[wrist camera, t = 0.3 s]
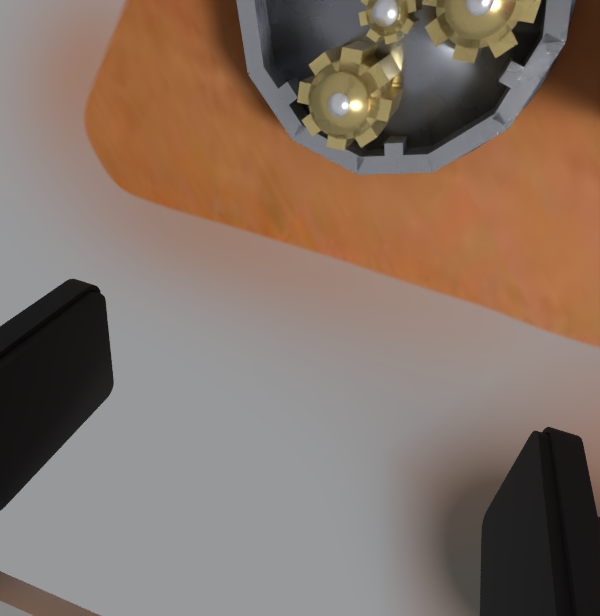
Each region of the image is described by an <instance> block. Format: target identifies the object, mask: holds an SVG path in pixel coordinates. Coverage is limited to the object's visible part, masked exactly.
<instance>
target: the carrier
mask: <svg viewBox="0 0 600 616" xmlns="http://www.w3.org/2000/svg"><path fill="white" fill-rule="evenodd" d="M236 2H237V8H238V14H239V21H240V27H241V34H242V40H243V46H244V53H245V59H246V66H247V72H248V73H250V74H248V75H249V77H250V78H251V80H252V81H253V82H254V84H255V85H256V87H257V88H258V90H259V91H260V93H261V94H262V96H263V97H264V99H265V100H266V102H267V103H268V105H269V106H270V108H271V109H272V111H273V112H274V114H275V115H276V117H277V118H278V120H279V121H280V123H281V124H282V126H283V127H284V129H285V130H286V132H287V133H288V135H289V136H290V138H291V139H293V141H295V142H297V143H299V144H301V145H302V146H304V147H306V148H308V149H310V150H312V151H314V152H316V153H317V154H319V155H321V156H323V157H325V158H327V159H329V160H331V161H332V162H334V163H336V164H338V165H340V166H342V167H344V168H346V169H347V170H349V171H351V172H353V173H355V174H357V173H358V175H363V174H398V173H432V172H435V171H437V170H438V169H440V168H442V167H443V166H445V165H447V164H449V163H450V162H452V161H454V160H456V159H457V158H459V157H461V156H463V155H465V154H467V153H469V152H471V151H473V150H475V149H476V148H478V147H479V146H481V145H482V144H484V143H486V142H487V141H489V140H490V139H492V138H493V137H495V136H497V135H499V134H500V133H502V132H504V131H505V130H507V129H508V127H509V128H510V126H511V125H512V123H513V122H514V120H515V119H516V117H517V115H518V114H519V113H520V112H521V111H522V110H523V109H524V108H525V107H526V106H527V104H528V103H529V102H530V100H531V99H532V98H533V96H534V95H535V94H536V92H537V91H538V90H539V88H540V87H541V85H542V84H543V82H544V80H545V79H546V77H547V75H548V74H549V72H550V70H551V69H552V67H553V65H554V63H555V61H556V59H557V57H558V54H559V52H560V51H561V49H562V48H563V46H564V45H565V42H564V41H566V40H567V32H568V29H569V26H570V23H571V19H572V16H573V13H574V8H575V3H576V0H236Z"/></svg>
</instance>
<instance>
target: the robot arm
mask: <svg viewBox="0 0 600 616" xmlns="http://www.w3.org/2000/svg"><path fill="white" fill-rule="evenodd" d="M112 388H113V371H112V361H111V351H110V341H109V331H108V321H107V311H106V301H105V297H104V296H103V295H102V294H101V293H100V290H99V288H98V287H97V286H95V285H92V284H89V283H86V282H82V281H79V280H76V279H69V280H67V281H66V282H64V283H63V284H62V285H60V286H58V287H57V288H55V289H54V290H53V291H51V292H50V293H48V294H47V295H45V296H44V297H42V298H41V299H40V300H38V301H37V302H35V303H34V304H32V305H31V306H29V307H28V308H26V309H25V310H23V311H22V312H21V313H19V314H18V315H16V316H15V317H13V318H12V319H10V320H9V321H7V322H6V323H5V324H3V325H2V326H0V510H2V509H3V508H4V507H5V506H6V505H7V504H8V503H9V502H10V501H11V500H12V499H13V498H14V496H15V495H16V494H17V493H18V492H19V491H20V490H21V489H22V488H23V487H24V486H25V485H26V484H27V483H28V481H30V479H31V478H32V477H33V476H34V475H35V474H36V473H37V472H38V471H39V470H40V468H42V466H44V464H45V463H46V462H47V461H48V460H49V459H50V458H51V457H52V456H53V455H54V454H55V453H56V452H57V451H58V450H59V449H60V448H61V446H62V445H63V444H64V443H65V442H66V441H67V440H68V439H69V438H70V437H71V436H72V435H73V434H74V433H75V431H76V430H77V429H78V428H79V427H80V426H81V425H82V424H83V423H84V422H85V421H86V420H87V419H88V418H89V417H90V416H91V414H92V413H93V412H94V411H95V410H96V409H97V408H98V407H99V406H100V405H101V404H102V403H103V402H104V401H105V399H106V398H107V397H108V396H109V395H110V393H111V391H112ZM480 592H481V593H480V616H600V517H598V516H597V511H596V507H595V501H594V496H593V491H592V486H591V482H590V476H589V471H588V466H587V461H586V456H585V452H584V446H583V442H582V439H581V438H580V437H579V436H577V435H574V434H570V433H567V432H564V431H560V430H557V429H554V428H551V427H547V428H545V429H544V430H543V432H538V431H533V432H532V434H531V435H530V437H529V438H528V440H527V442H526V444H525V445H524V447H523V449H522V450H521V452H520V454H519V456H518V458H517V459H516V461H515V463H514V465H513V466H512V468H511V470H510V471H509V473H508V475H507V477H506V478H505V480H504V482H503V484H502V485H501V487H500V489H499V490H498V492H497V494H496V496H495V498H494V499H493V501H492V503H491V504H490V506H489V508H488V510H487V511H486V513H485V516H484V520H483V524H482V539H481V589H480ZM0 616H100V615H98V614H96V613H93V612H91V611H89V610H87V609H84V608H82V607H80V606H78V605H75V604H73V603H71V602H69V601H66V600H64V599H62V598H60V597H58V596H55V595H53V594H50V593H48V592H46V591H44V590H42V589H39V588H37V587H35V586H32V585H30V584H28V583H25V582H23V581H21V580H19V579H16V578H14V577H12V576H10V575H7V574H5V573H3V572H0Z"/></svg>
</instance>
